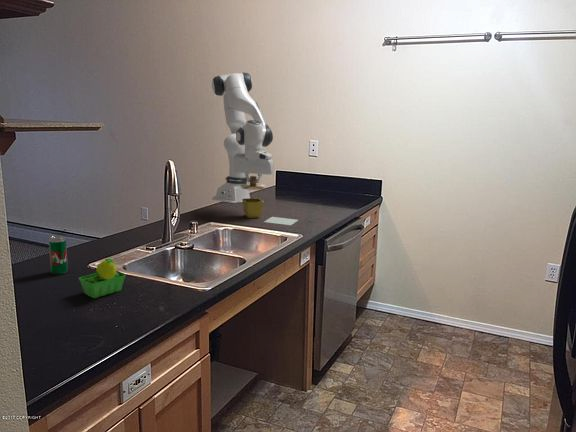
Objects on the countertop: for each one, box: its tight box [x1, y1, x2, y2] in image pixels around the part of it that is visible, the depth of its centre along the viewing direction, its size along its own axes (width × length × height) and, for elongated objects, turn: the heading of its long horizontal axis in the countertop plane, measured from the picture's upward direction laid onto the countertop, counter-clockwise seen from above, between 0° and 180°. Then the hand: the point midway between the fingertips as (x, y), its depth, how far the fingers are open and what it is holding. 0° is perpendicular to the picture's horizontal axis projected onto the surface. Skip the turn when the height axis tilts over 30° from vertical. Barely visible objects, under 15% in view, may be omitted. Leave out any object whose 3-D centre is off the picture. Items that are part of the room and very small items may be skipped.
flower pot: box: [242, 197, 265, 219], centre depth 244 cm, size 9×9×9 cm
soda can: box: [48, 235, 69, 276], centre depth 158 cm, size 5×5×12 cm
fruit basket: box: [78, 257, 126, 299], centre depth 144 cm, size 11×9×11 cm
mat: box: [263, 216, 299, 226], centre depth 238 cm, size 14×12×1 cm
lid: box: [241, 175, 266, 191], centre depth 241 cm, size 12×12×6 cm
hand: (253, 182), depth 241 cm, fingers closed on lid, 3 cm apart
